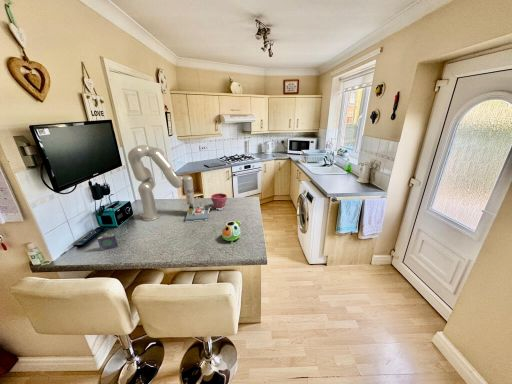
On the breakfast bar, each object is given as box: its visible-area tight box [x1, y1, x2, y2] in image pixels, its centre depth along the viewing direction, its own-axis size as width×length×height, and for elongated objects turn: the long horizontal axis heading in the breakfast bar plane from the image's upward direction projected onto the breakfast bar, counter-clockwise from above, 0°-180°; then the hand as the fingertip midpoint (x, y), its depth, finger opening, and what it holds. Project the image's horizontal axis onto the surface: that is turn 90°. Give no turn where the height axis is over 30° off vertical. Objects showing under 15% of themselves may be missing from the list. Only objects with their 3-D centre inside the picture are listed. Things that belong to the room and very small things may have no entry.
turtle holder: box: [221, 220, 242, 243], centre depth 141 cm, size 12×18×12 cm
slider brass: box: [187, 207, 193, 214], centre depth 172 cm, size 3×3×4 cm
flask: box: [97, 232, 119, 252], centre depth 128 cm, size 9×3×11 cm, turn 117°
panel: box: [185, 206, 212, 222], centre depth 175 cm, size 18×24×4 cm
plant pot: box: [210, 192, 228, 209], centre depth 186 cm, size 14×14×13 cm
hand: (191, 210), depth 176 cm, fingers closed
